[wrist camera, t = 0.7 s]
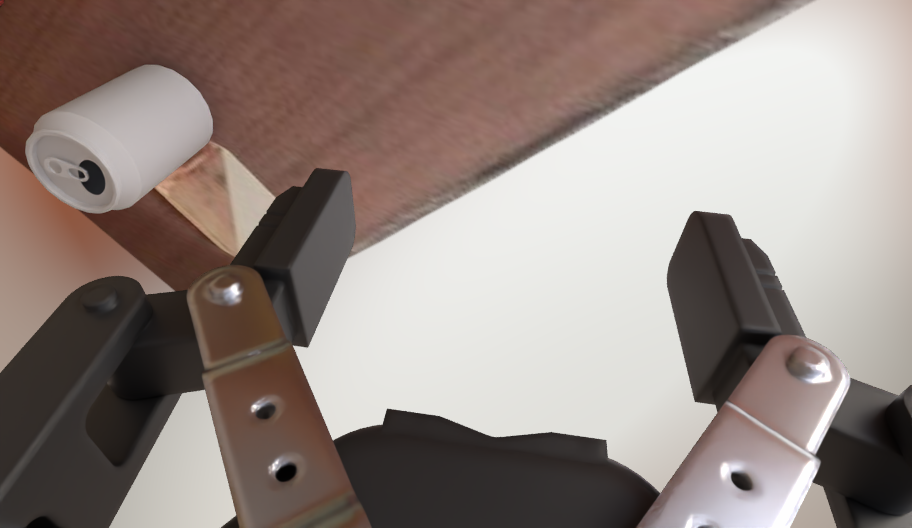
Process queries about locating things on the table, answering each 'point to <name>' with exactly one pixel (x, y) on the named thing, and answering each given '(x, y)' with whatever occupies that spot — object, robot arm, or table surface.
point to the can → (119, 139)
